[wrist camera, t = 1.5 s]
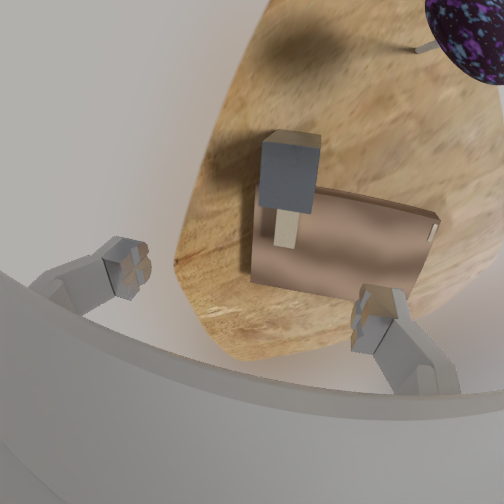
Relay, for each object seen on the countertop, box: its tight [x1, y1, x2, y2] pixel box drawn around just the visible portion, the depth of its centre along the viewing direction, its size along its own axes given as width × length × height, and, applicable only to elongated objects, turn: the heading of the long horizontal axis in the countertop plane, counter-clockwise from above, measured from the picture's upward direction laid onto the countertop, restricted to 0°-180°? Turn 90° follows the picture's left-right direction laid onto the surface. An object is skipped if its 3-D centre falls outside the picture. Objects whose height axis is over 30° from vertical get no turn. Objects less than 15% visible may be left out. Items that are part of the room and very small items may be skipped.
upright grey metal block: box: [258, 129, 321, 249], centre depth 23 cm, size 10×4×7 cm, turn 177°
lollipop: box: [415, 0, 504, 85], centre depth 9 cm, size 7×7×15 cm
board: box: [250, 179, 441, 301], centre depth 28 cm, size 12×19×2 cm, turn 87°
